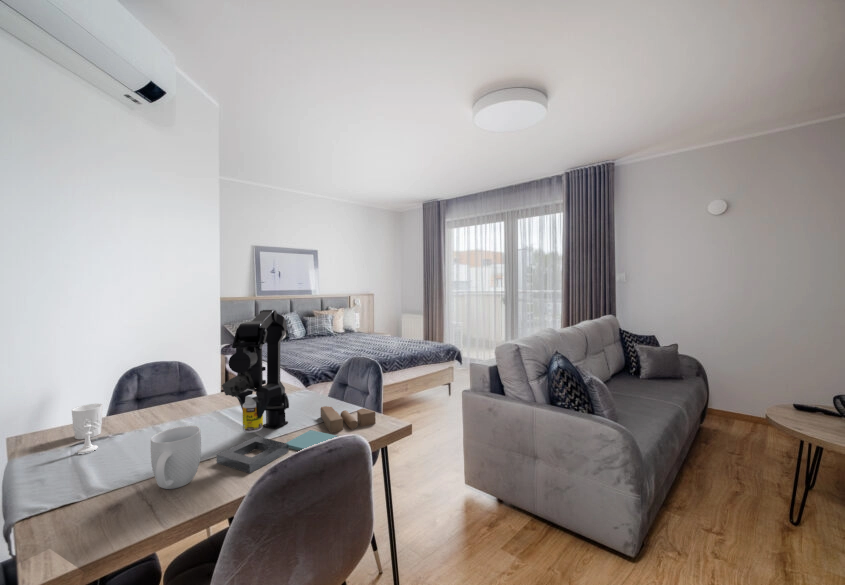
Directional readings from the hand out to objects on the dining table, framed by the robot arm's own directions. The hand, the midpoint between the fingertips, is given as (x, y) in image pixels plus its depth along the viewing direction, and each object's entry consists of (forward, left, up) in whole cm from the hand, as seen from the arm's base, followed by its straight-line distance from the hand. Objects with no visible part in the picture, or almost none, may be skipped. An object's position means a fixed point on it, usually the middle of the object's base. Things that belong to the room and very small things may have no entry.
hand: (252, 416), depth 108 cm
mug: (-6, -19, -13) cm, 24 cm away
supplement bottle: (0, 0, -4) cm, 4 cm away
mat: (+9, +15, -12) cm, 22 cm away
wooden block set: (+8, +36, -13) cm, 39 cm away
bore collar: (0, 0, -12) cm, 12 cm away
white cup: (-67, -13, -13) cm, 69 cm away
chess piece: (-52, -19, -13) cm, 57 cm away
